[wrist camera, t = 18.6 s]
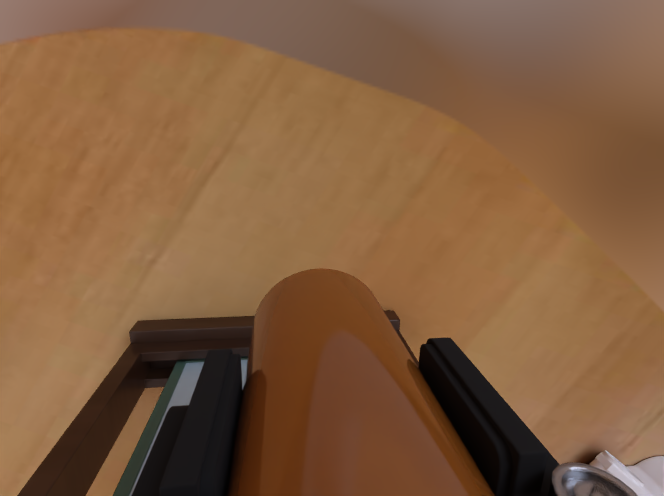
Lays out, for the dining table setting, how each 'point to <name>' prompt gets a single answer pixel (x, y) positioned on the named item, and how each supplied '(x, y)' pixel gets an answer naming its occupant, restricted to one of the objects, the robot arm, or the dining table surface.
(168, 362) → the window frame
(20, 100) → the dining table surface
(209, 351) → the robot arm
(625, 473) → the white compartment tray
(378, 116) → the dining table surface
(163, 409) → the pane
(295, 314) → the orange-brown cylinder
